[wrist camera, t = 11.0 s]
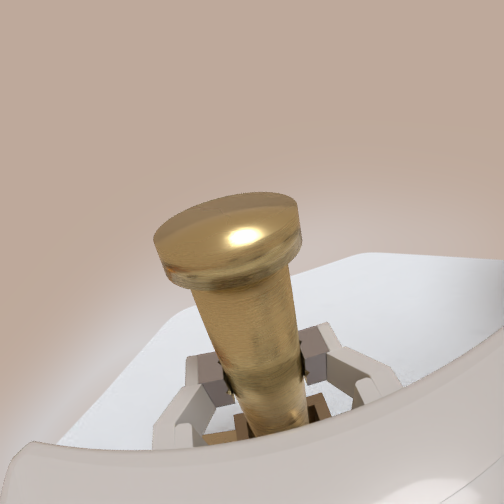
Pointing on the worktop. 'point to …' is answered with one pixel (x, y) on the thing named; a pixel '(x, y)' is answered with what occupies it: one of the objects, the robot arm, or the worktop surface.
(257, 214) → the hinge pin
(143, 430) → the worktop surface
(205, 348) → the worktop surface
